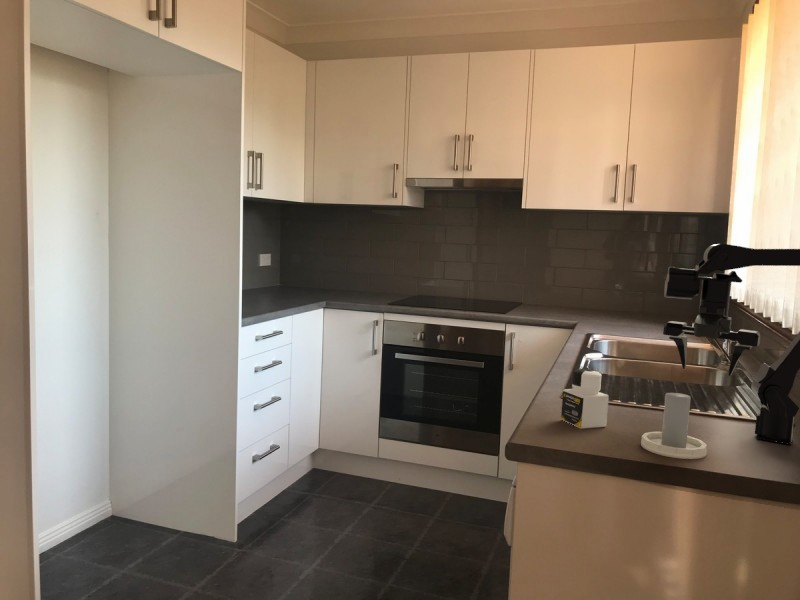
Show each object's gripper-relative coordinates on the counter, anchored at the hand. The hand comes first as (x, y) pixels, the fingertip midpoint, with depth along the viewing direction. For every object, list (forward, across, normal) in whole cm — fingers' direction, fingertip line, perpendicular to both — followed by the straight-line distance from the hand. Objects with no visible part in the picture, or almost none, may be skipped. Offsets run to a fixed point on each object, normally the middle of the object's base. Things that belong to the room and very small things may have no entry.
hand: (706, 372), depth 147 cm
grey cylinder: (+12, -2, -20) cm, 23 cm away
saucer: (+13, -2, -20) cm, 24 cm away
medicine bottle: (+14, -22, -14) cm, 29 cm away
